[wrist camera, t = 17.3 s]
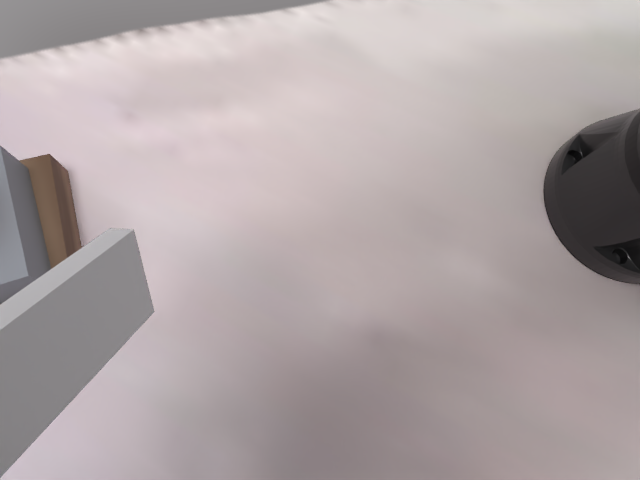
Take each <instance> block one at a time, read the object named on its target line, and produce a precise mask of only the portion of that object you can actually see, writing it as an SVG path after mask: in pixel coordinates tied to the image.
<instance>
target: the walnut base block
mask: <svg viewBox="0 0 640 480" xmlns="http://www.w3.org/2000/svg"><path fill="white" fill-rule="evenodd" d="M20 162H21V163H22V164H23V165H25V166H26V167H27V168H28V170H29V174H30V179H31V183H32V187H33V192H34V196H35V200H36V205H37V209H38V213H39V218H40V222H41V226H42V231H43V235H44V239H45V244H46V248H47V252H48V257H49V261H50V265H51V269H52V268H54V267H55V266H56V265H58V264H59V263H61V262H62V261H64V260H65V259H66V258H68V257H69V256H71V255H72V254H74V253H75V252H77V251H78V250H79V249H81V243H80V237H79V232H78V226H77V220H76V215H75V209H74V203H73V198H72V192H71V186H70V181H69V175H68V171H67V170H66V169H65V168H64V167H63V166H62V165H61V164H60V163H59V162H58V161H57V160H55V159H54V158H53V157H52V156H51V155H50V154H47V155H42V156H38V157H33V158H29V159H24V160H20Z"/></svg>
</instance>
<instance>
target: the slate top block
mask: <svg viewBox="0 0 640 480" xmlns="http://www.w3.org/2000/svg"><path fill="white" fill-rule="evenodd" d="M49 270H51V265H50V261H49V257H48V252H47V248H46V244H45V239H44V235H43V231H42V226H41V222H40V218H39V213H38V209H37V205H36V200H35V196H34V192H33V187H32V183H31V179H30V174H29V170H28V168H27V167H26V166H25V165H23V164H22V163H21V162H20V161H19V160H17V159H16V158H15V157H14V156H12V155H11V154H10V153H9V152H7V151H6V150H5V149H4V148H3V147H1V146H0V304H2V303H3V302H5V301H6V300H8V299H9V298H10V297H12V296H13V295H15V294H16V293H18V292H19V291H20V290H22V289H23V288H25V287H26V286H28V285H29V284H31V283H32V282H33V281H35V280H36V279H38V278H39V277H41V276H42V275H43V274H45V273H46V272H48V271H49Z"/></svg>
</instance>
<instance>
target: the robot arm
mask: <svg viewBox="0 0 640 480" xmlns="http://www.w3.org/2000/svg"><path fill="white" fill-rule="evenodd" d="M544 196H545V204H546V209H547V213H548V216H549V219H550V221H551V224H552V226H553V228H554V230H555V232H556V233H557V235H558V237H559V238H560V240H561V241H562V242H563V244H564V245H565V246H566V248H567V249H568V250H569V251H570V252H571V253H572V254H573V255H574V256H575V257H576V258H577V259H578V260H580V261H581V262H582V263H583V264H585V265H586V266H588V267H589V268H591V269H592V270H594V271H596V272H598V273H599V274H601V275H604V276H606V277H609V278H611V279H614V280H618V281H622V282H627V283H640V109H638V110H634V111H631V112H628V113H624V114H621V115H618V116H614V117H611V118H608V119H604V120H601V121H598V122H596V123H593V124H591V125H589V126H587V127H586V128H584V129H582V130H581V131H580V132H578V133H577V134H576V135H574V136H573V137H572V138H571V139H570V140H568V141H567V142H566V143H565V144H564V145H563V146H562V147H561V148H560V149H559V150H558V151H557V152H556V154H555V155H554V157H553V159H552V160H551V162H550V165H549V167H548V170H547V173H546V177H545V185H544ZM153 313H154V308H153V304H152V300H151V296H150V292H149V288H148V284H147V280H146V276H145V272H144V268H143V264H142V260H141V256H140V252H139V248H138V244H137V240H136V236H135V232H134V230H133V229H115V228H110V229H108V230H107V231H105V232H104V233H102V234H101V235H100V236H98V237H97V238H95V239H94V240H92V241H91V242H89V243H88V244H87V245H85V246H84V247H82V248H81V249H79V250H78V251H77V252H75V253H74V254H72V255H71V256H69V257H68V258H66V259H65V260H64V261H62V262H61V263H59V264H58V265H56V266H55V267H54V268H52V269H51V270H49V271H48V272H46V273H45V274H43V275H42V276H41V277H39V278H38V279H36V280H35V281H33V282H32V283H31V284H29V285H28V286H26V287H25V288H23V289H22V290H20V291H19V292H18V293H16V294H15V295H13V296H12V297H10V298H9V299H8V300H6V301H5V302H3V303H2V304H0V478H1V476H2V475H3V474H4V473H5V472H6V471H7V470H8V469H9V468H10V467H11V466H12V465H13V464H14V462H15V461H16V460H17V459H18V458H19V457H20V456H21V455H22V454H23V453H24V452H25V451H26V449H27V448H28V447H29V446H30V445H31V444H32V443H33V442H34V441H35V440H36V439H37V438H38V437H39V435H40V434H41V433H42V432H43V431H44V430H45V429H46V428H47V427H48V426H49V425H50V424H51V423H52V421H53V420H54V419H55V418H56V417H57V416H58V415H59V414H60V413H61V412H62V411H63V410H64V409H65V407H66V406H67V405H68V404H69V403H70V402H71V401H72V400H73V399H74V398H75V397H76V396H77V395H78V393H79V392H80V391H81V390H82V389H83V388H84V387H85V386H86V385H87V384H88V383H89V382H90V381H91V379H92V378H93V377H94V376H95V375H96V374H97V373H98V372H99V371H100V370H101V369H102V368H103V366H104V365H105V364H106V363H107V362H108V361H109V360H110V359H111V358H112V357H113V356H114V355H115V354H116V352H117V351H118V350H119V349H120V348H121V347H122V346H123V345H124V344H125V343H126V342H127V341H128V340H129V338H130V337H131V336H132V335H133V334H134V333H135V332H136V331H137V330H138V329H139V328H140V327H141V326H142V324H143V323H144V322H145V321H146V320H147V319H148V318H149V317H150V316H151V315H152V314H153Z"/></svg>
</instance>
